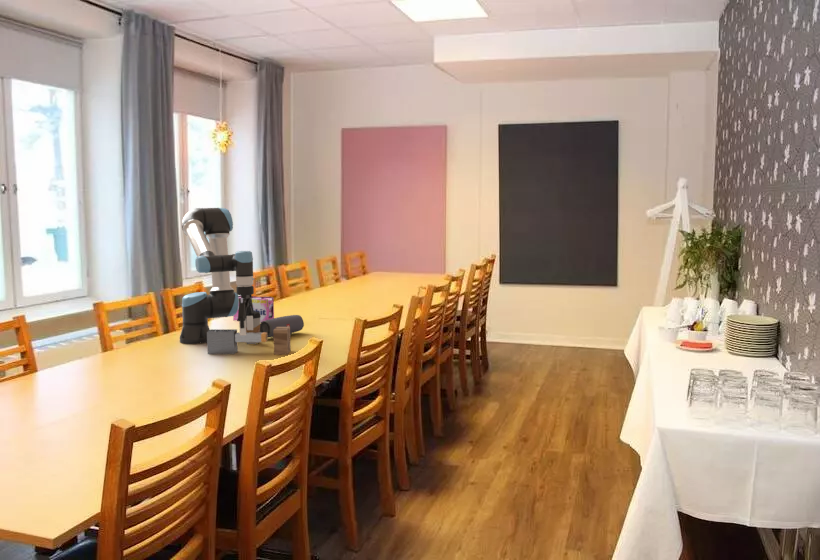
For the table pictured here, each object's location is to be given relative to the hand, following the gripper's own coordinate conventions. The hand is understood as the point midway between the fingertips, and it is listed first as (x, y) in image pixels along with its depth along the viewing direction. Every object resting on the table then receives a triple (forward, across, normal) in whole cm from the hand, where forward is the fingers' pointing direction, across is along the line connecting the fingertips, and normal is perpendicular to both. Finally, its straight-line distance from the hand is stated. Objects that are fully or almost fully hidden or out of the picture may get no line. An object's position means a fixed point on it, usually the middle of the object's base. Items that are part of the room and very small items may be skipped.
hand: (246, 332), depth 325 cm
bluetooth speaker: (+9, +38, -9) cm, 40 cm away
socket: (+9, 0, -16) cm, 18 cm away
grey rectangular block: (+9, 0, +11) cm, 14 cm away
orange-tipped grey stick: (+4, 0, +4) cm, 5 cm away
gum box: (+8, +82, +16) cm, 84 cm away
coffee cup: (+9, +20, +2) cm, 23 cm away
